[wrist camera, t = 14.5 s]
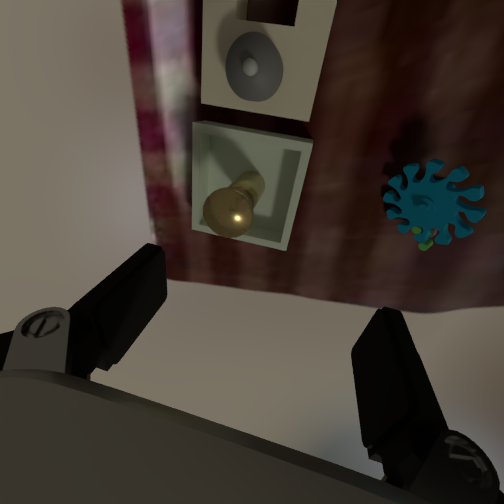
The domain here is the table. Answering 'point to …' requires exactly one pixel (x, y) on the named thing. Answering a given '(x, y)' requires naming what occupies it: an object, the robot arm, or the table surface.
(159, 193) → the table surface
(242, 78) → the beige boxy piece
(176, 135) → the table surface
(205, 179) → the tray
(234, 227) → the pin
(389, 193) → the teal lobed piece
